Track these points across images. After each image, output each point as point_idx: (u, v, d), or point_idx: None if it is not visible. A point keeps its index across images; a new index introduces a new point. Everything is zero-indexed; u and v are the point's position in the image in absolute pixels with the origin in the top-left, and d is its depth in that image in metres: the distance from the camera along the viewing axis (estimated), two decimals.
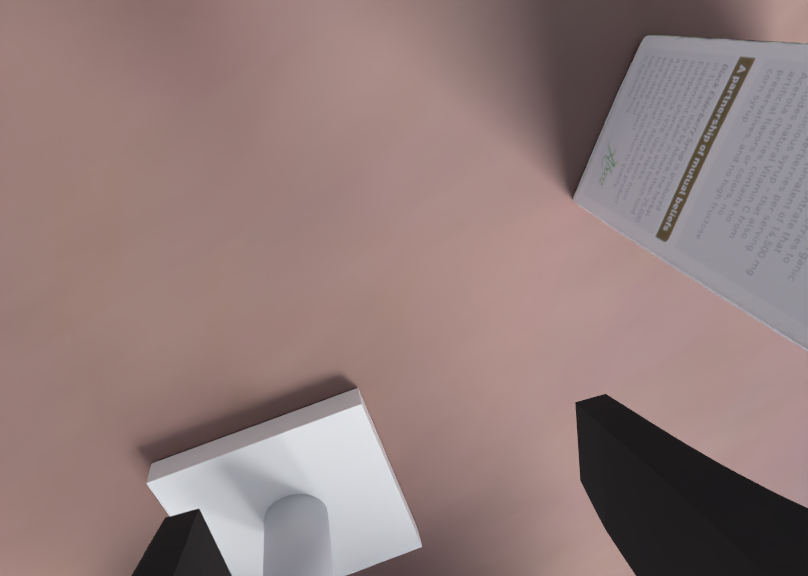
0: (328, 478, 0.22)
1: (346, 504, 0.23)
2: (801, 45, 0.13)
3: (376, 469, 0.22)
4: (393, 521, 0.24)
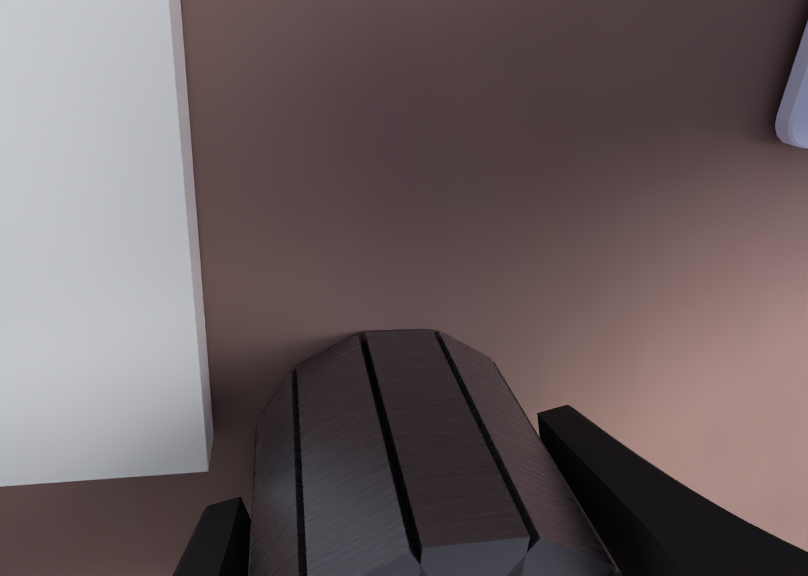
0: None
1: None
2: None
3: None
4: None
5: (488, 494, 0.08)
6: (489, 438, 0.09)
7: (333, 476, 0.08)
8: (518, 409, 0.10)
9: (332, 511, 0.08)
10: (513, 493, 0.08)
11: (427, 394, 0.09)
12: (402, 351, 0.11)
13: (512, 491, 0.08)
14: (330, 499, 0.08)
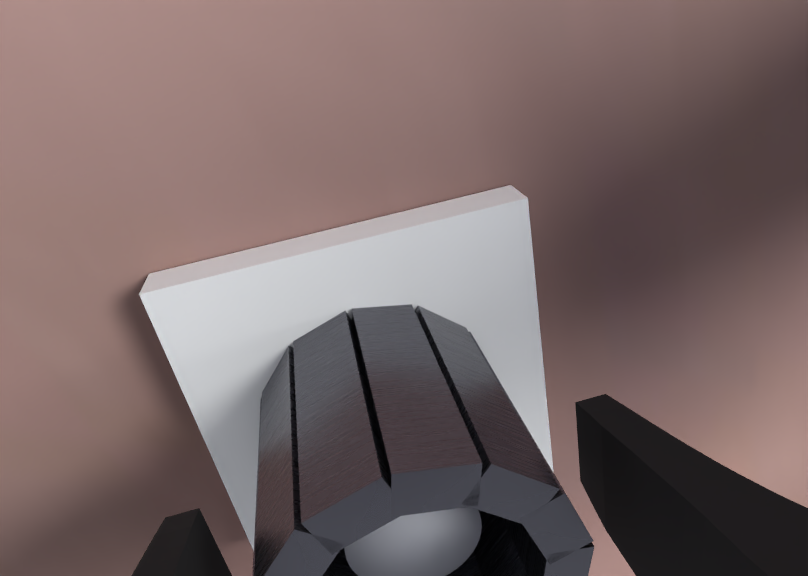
0: None
1: None
2: None
3: (302, 275, 0.12)
4: (441, 250, 0.12)
5: (451, 432, 0.09)
6: (455, 390, 0.10)
7: (322, 427, 0.10)
8: (488, 369, 0.12)
9: (321, 454, 0.09)
10: (472, 432, 0.09)
11: (404, 357, 0.11)
12: (384, 323, 0.12)
13: (471, 430, 0.09)
14: (319, 445, 0.09)
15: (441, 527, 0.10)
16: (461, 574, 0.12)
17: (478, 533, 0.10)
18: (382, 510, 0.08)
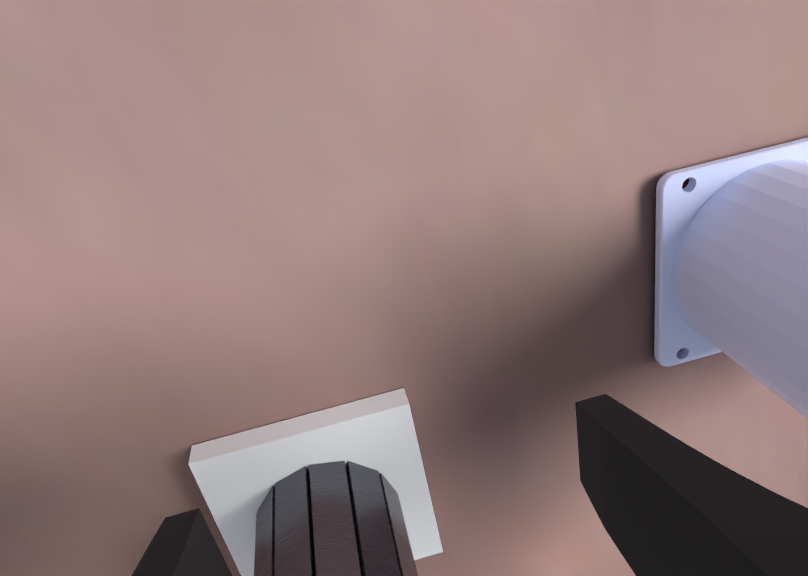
0: None
1: None
2: None
3: (279, 449, 0.21)
4: (360, 432, 0.22)
5: (349, 557, 0.18)
6: (357, 528, 0.19)
7: (287, 549, 0.19)
8: (383, 505, 0.21)
9: (285, 566, 0.18)
10: (360, 556, 0.18)
11: (333, 504, 0.20)
12: (326, 477, 0.21)
13: (360, 555, 0.18)
14: (285, 560, 0.19)
15: None
16: None
17: None
18: None
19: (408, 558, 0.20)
